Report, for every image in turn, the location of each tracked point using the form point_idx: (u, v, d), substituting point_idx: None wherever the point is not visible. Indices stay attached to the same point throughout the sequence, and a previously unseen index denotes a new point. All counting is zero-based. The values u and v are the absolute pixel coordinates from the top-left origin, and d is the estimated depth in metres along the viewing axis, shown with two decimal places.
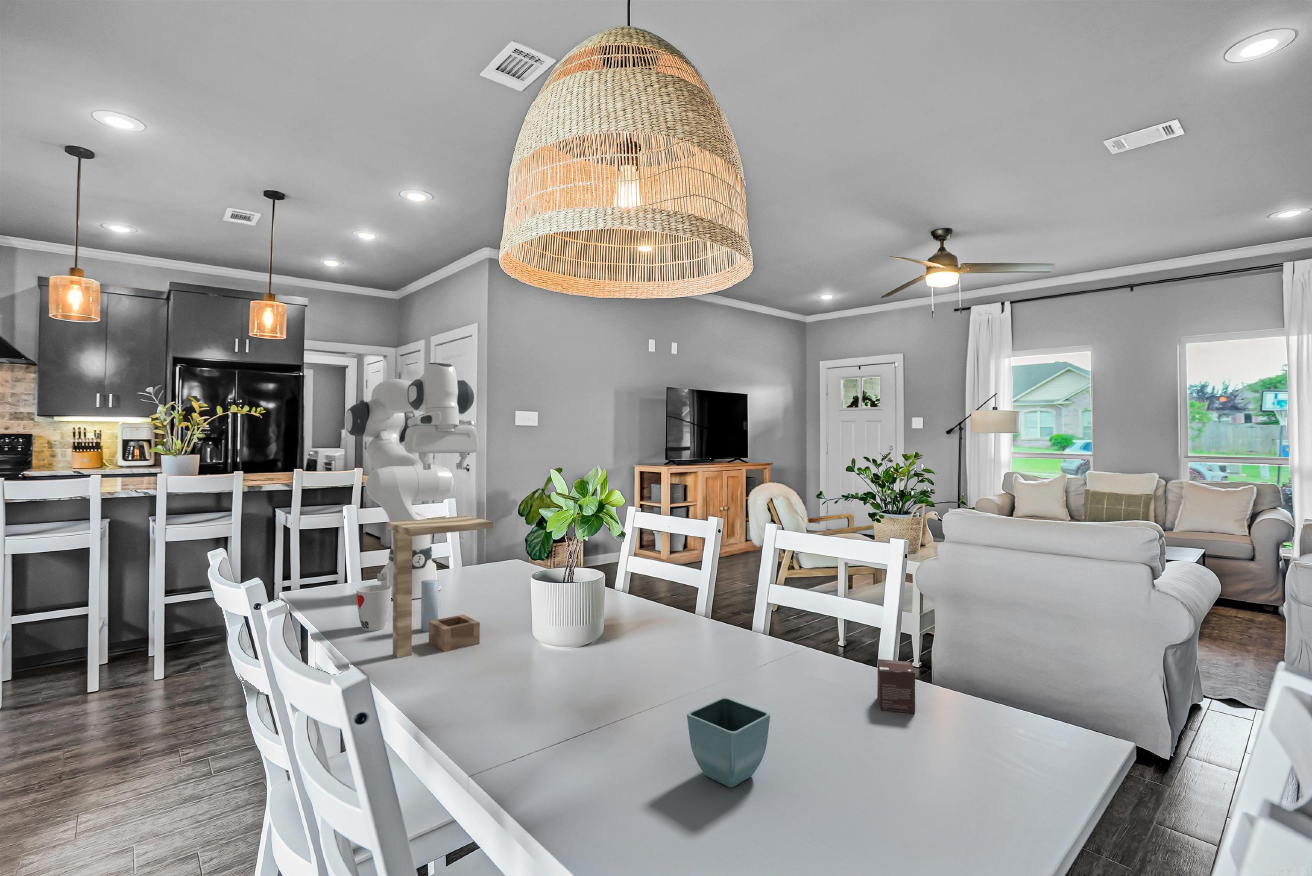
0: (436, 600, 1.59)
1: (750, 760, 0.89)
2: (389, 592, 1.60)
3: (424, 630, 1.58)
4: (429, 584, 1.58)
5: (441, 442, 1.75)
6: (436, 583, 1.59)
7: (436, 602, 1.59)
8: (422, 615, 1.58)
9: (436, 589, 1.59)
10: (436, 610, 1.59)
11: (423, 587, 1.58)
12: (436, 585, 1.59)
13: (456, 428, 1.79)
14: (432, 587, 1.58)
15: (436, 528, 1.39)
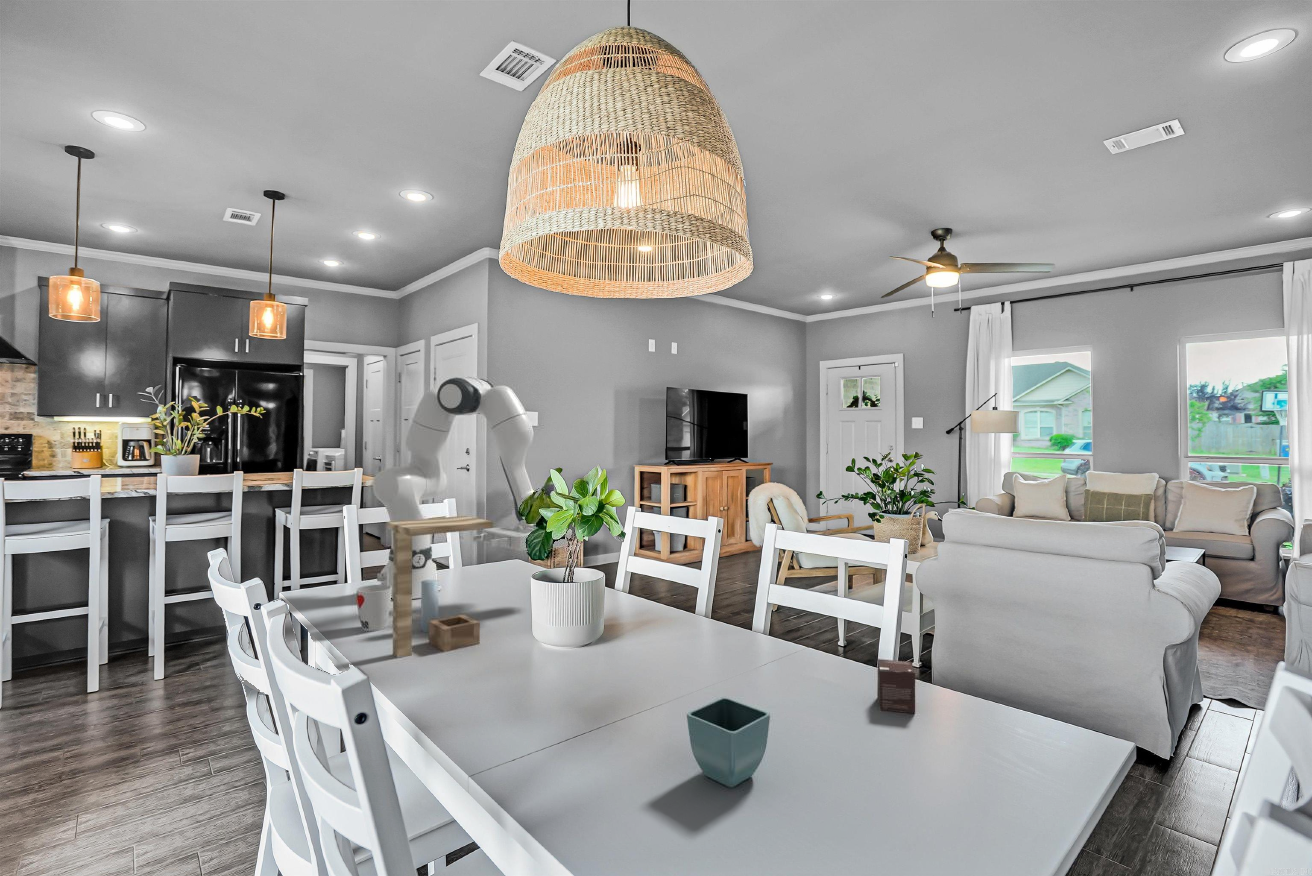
0: (436, 600, 1.59)
1: (750, 760, 0.89)
2: (389, 592, 1.60)
3: (424, 630, 1.58)
4: (429, 584, 1.58)
5: None
6: (436, 583, 1.59)
7: (436, 602, 1.59)
8: (422, 615, 1.58)
9: (436, 589, 1.59)
10: (436, 610, 1.59)
11: (423, 587, 1.58)
12: (436, 585, 1.59)
13: None
14: (432, 587, 1.58)
15: (436, 528, 1.39)
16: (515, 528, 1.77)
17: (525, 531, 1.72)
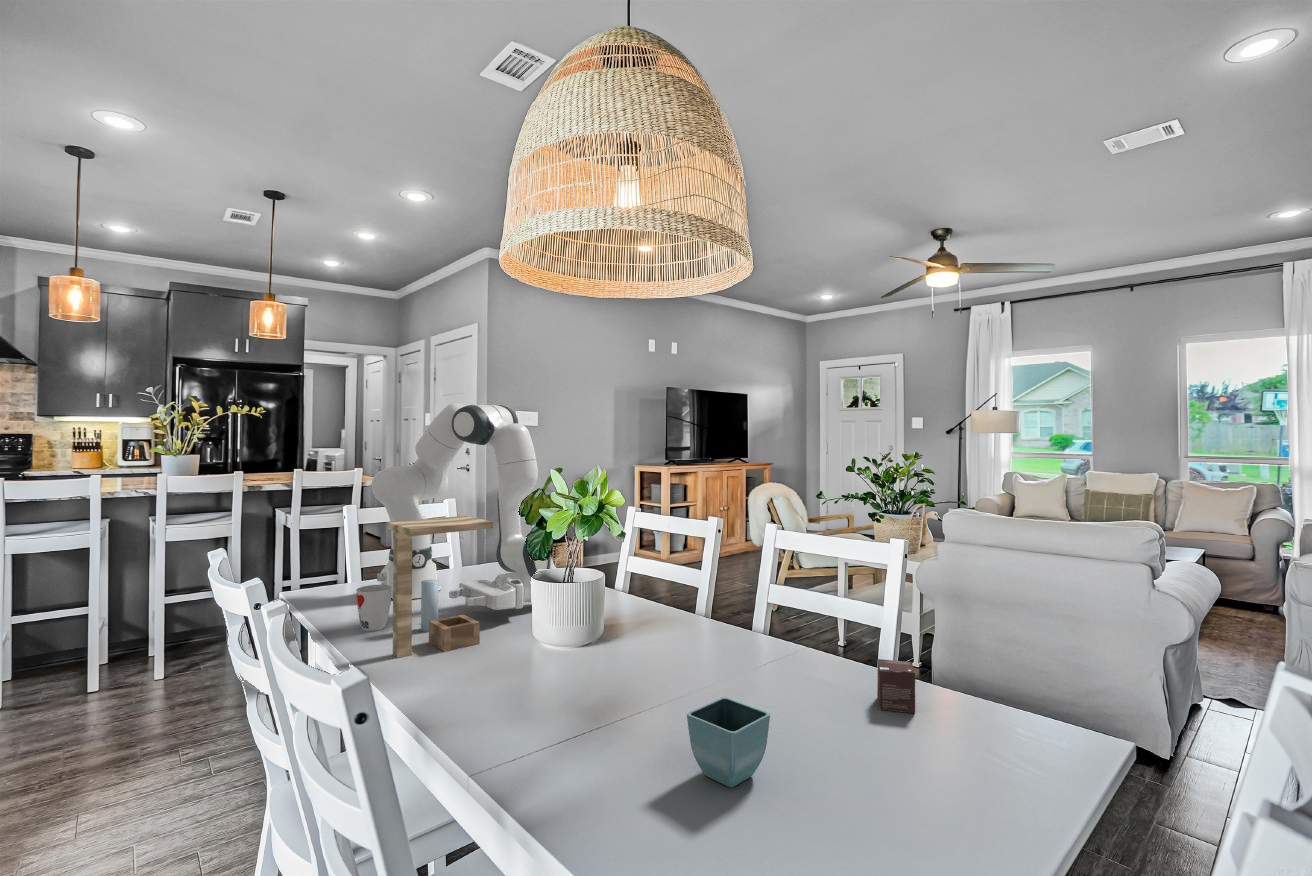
0: (436, 600, 1.59)
1: (750, 760, 0.89)
2: (389, 592, 1.60)
3: (424, 630, 1.58)
4: (429, 584, 1.58)
5: None
6: (436, 583, 1.59)
7: (436, 602, 1.59)
8: (422, 615, 1.58)
9: (436, 589, 1.59)
10: (436, 610, 1.59)
11: (423, 587, 1.58)
12: (436, 585, 1.59)
13: None
14: (432, 587, 1.58)
15: (436, 528, 1.39)
16: (493, 583, 1.72)
17: (503, 587, 1.68)
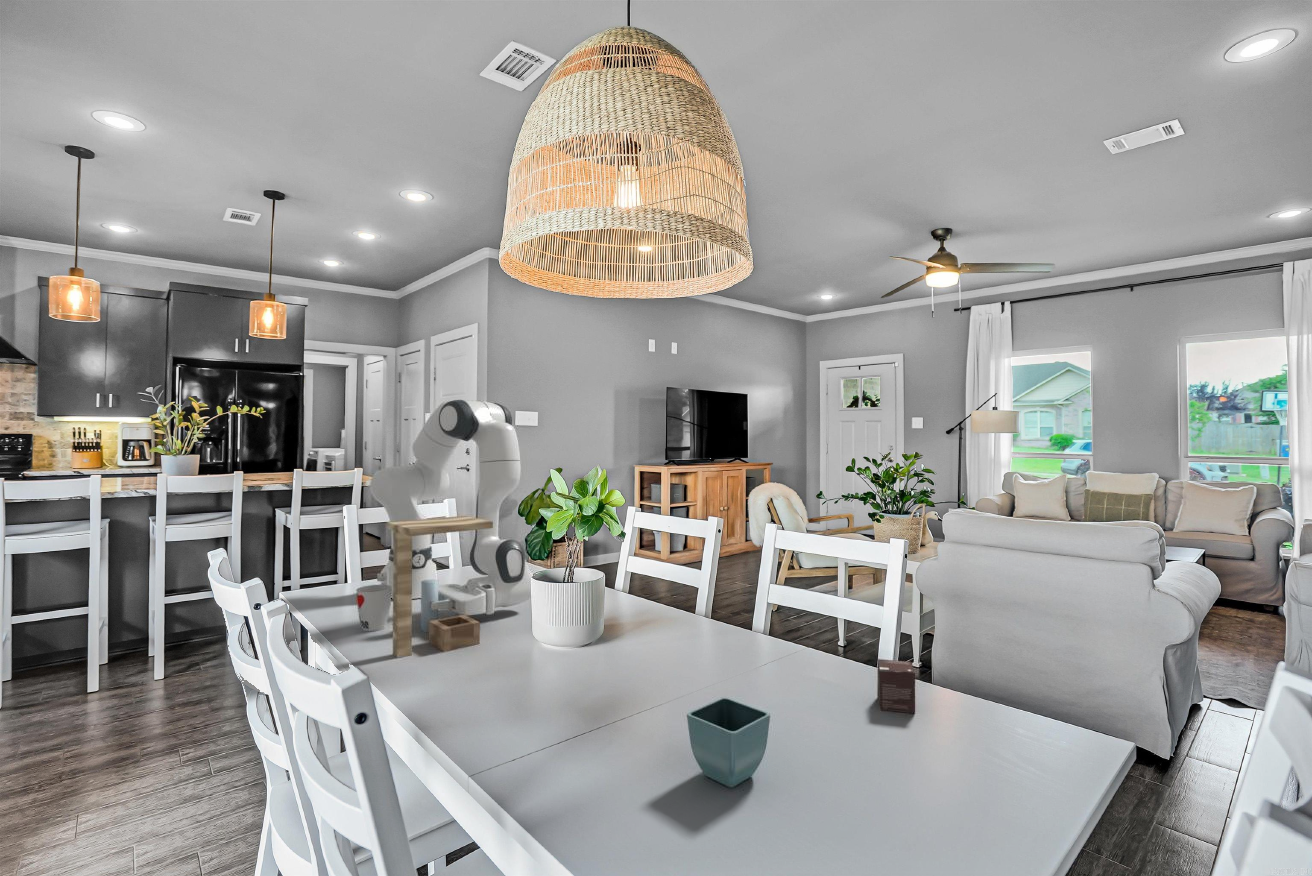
0: (436, 600, 1.59)
1: (750, 760, 0.89)
2: (389, 592, 1.60)
3: (424, 630, 1.58)
4: (429, 584, 1.58)
5: None
6: (436, 583, 1.59)
7: None
8: (422, 615, 1.58)
9: (436, 589, 1.59)
10: (436, 610, 1.59)
11: (423, 587, 1.58)
12: (436, 585, 1.59)
13: None
14: (432, 587, 1.58)
15: (436, 528, 1.39)
16: (464, 587, 1.67)
17: (473, 592, 1.63)
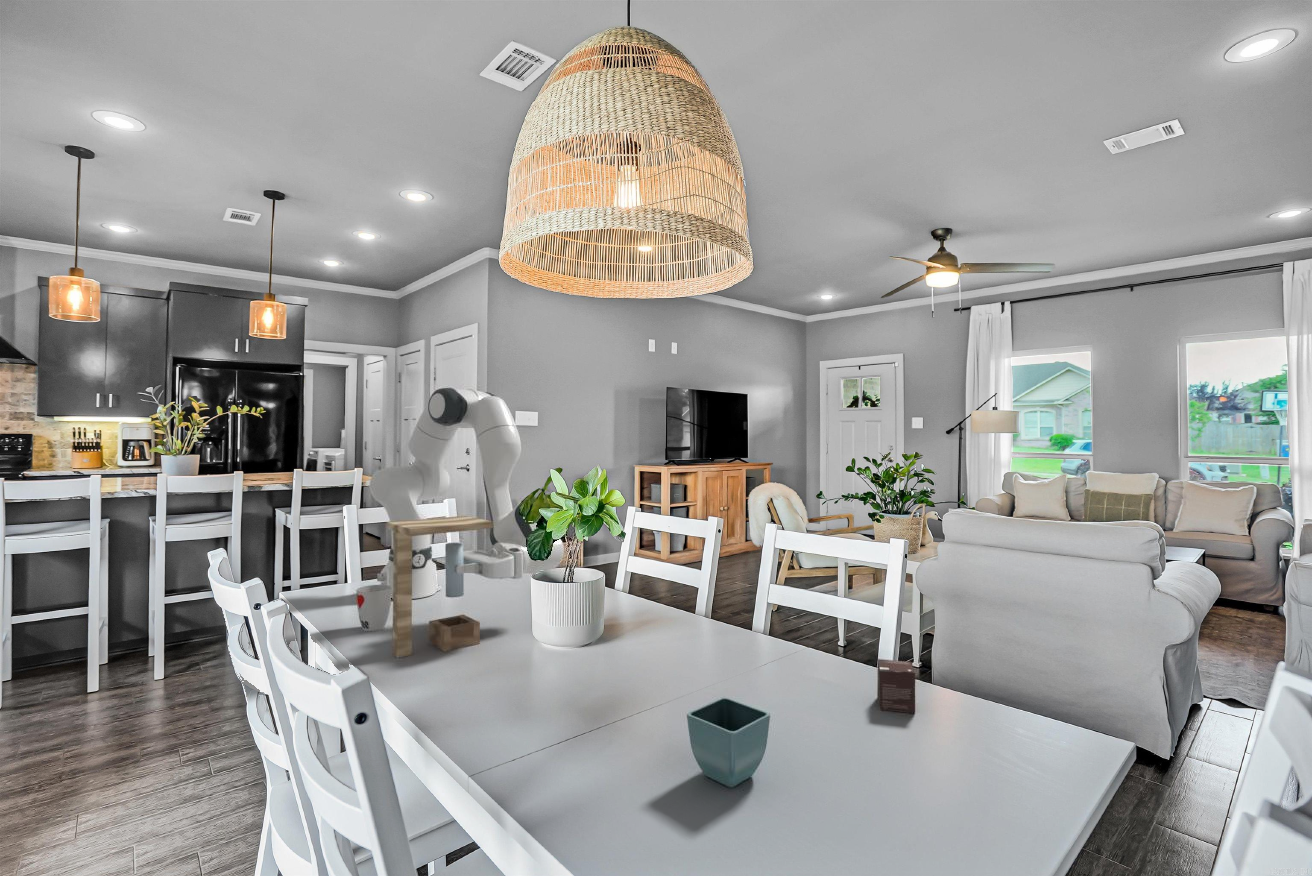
0: None
1: (750, 760, 0.89)
2: (389, 592, 1.60)
3: (449, 596, 1.48)
4: (454, 546, 1.48)
5: None
6: (461, 546, 1.49)
7: None
8: (447, 580, 1.48)
9: (461, 552, 1.49)
10: (461, 574, 1.49)
11: (447, 550, 1.48)
12: (461, 548, 1.49)
13: None
14: (457, 550, 1.48)
15: (436, 528, 1.39)
16: (489, 552, 1.57)
17: (500, 556, 1.53)
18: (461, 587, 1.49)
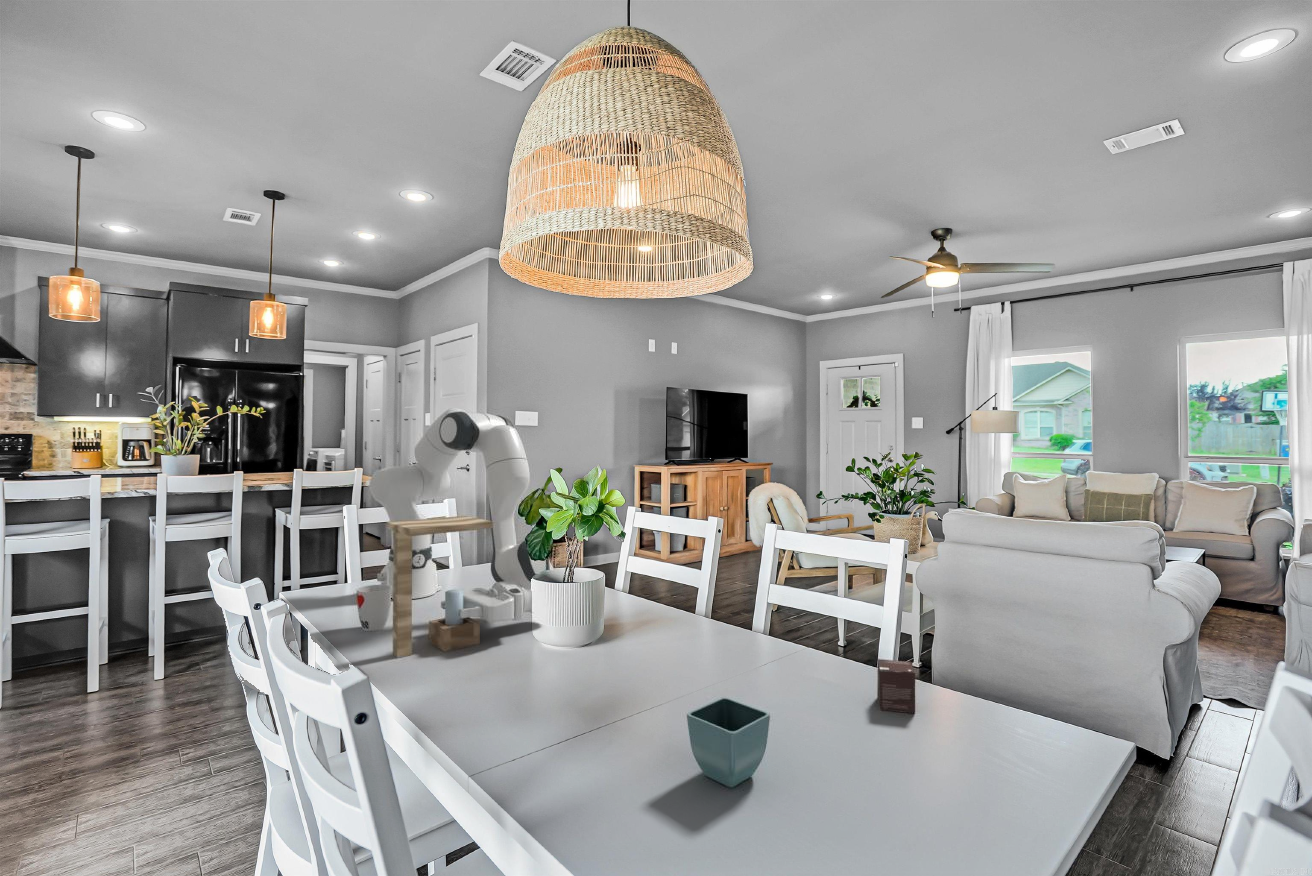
0: None
1: (750, 760, 0.89)
2: (389, 592, 1.60)
3: None
4: (454, 595, 1.47)
5: None
6: (461, 594, 1.48)
7: None
8: None
9: (461, 600, 1.49)
10: (461, 622, 1.49)
11: (447, 598, 1.47)
12: (461, 596, 1.48)
13: None
14: (457, 598, 1.48)
15: (436, 528, 1.39)
16: (489, 591, 1.56)
17: (500, 597, 1.52)
18: None
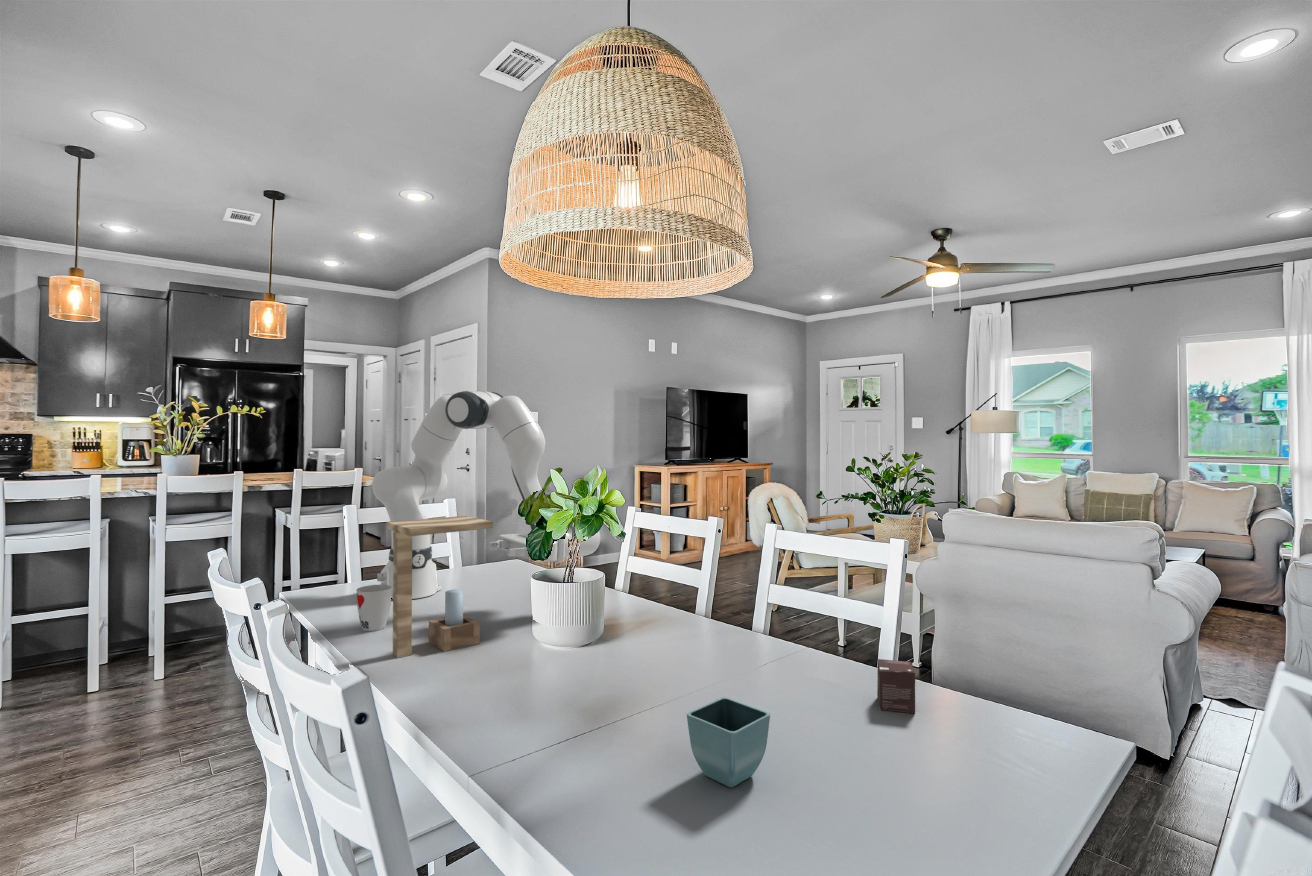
0: (461, 612, 1.49)
1: (750, 760, 0.89)
2: (389, 592, 1.60)
3: None
4: (454, 595, 1.47)
5: None
6: (461, 593, 1.49)
7: (461, 614, 1.49)
8: None
9: (461, 600, 1.49)
10: (461, 622, 1.49)
11: (447, 598, 1.47)
12: (461, 596, 1.49)
13: None
14: (457, 598, 1.48)
15: (436, 528, 1.39)
16: None
17: None
18: None
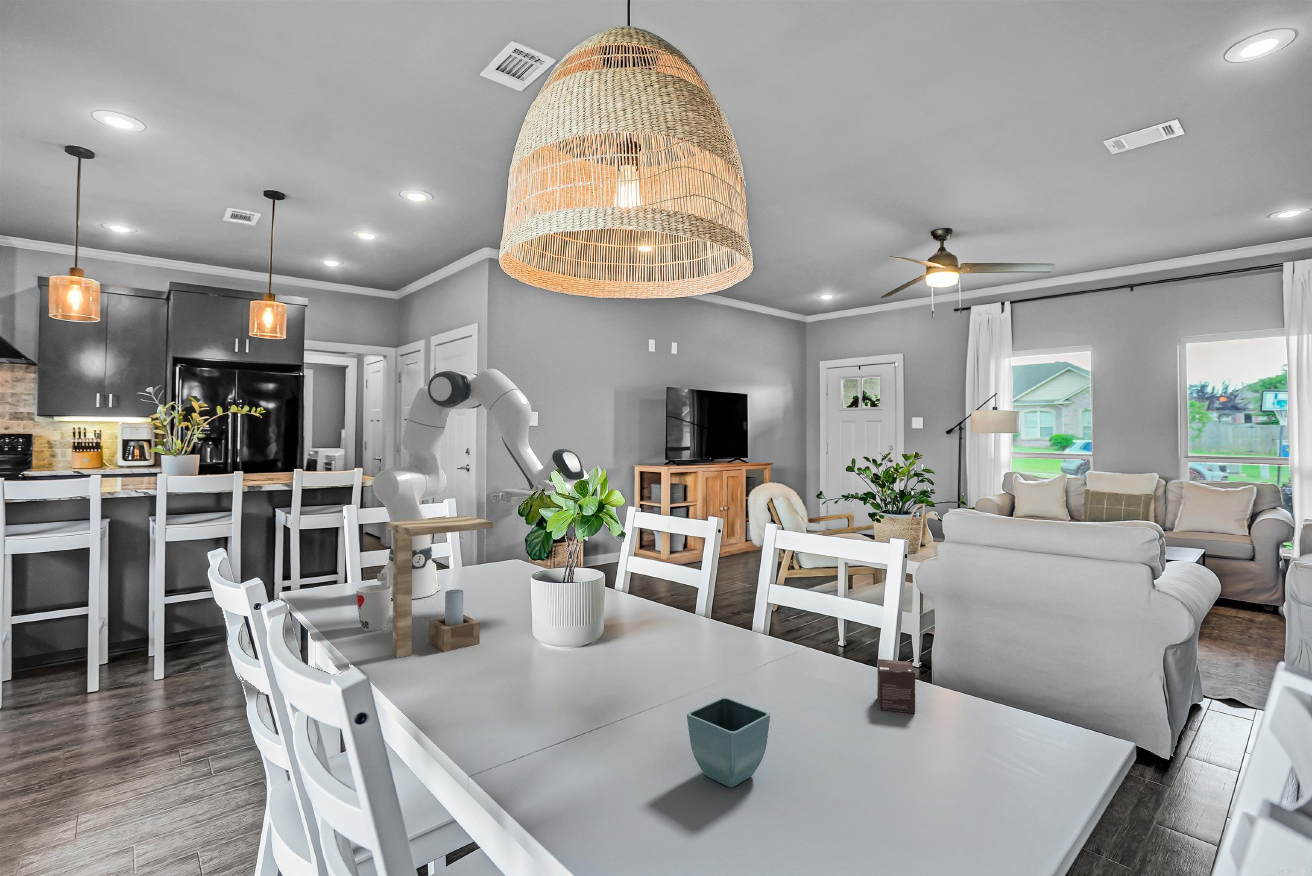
0: (461, 612, 1.49)
1: (750, 760, 0.89)
2: (389, 592, 1.60)
3: None
4: (454, 595, 1.47)
5: None
6: (461, 593, 1.49)
7: (461, 614, 1.49)
8: None
9: (461, 600, 1.49)
10: (461, 622, 1.49)
11: (447, 598, 1.47)
12: (461, 596, 1.49)
13: None
14: (457, 598, 1.48)
15: (436, 528, 1.39)
16: (534, 488, 1.71)
17: (545, 491, 1.67)
18: None
